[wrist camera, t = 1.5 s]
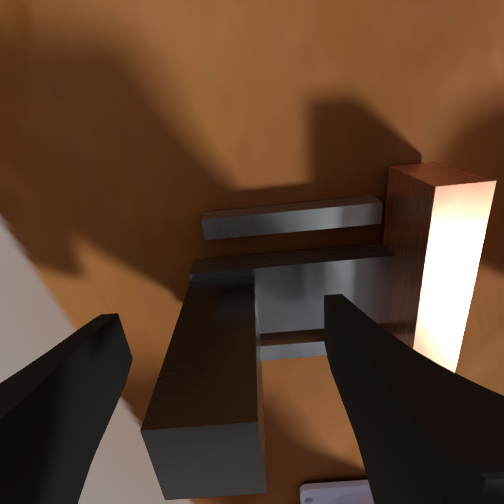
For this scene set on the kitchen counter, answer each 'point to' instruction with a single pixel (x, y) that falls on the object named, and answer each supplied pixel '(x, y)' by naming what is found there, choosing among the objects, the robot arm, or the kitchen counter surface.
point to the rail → (285, 221)
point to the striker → (308, 323)
